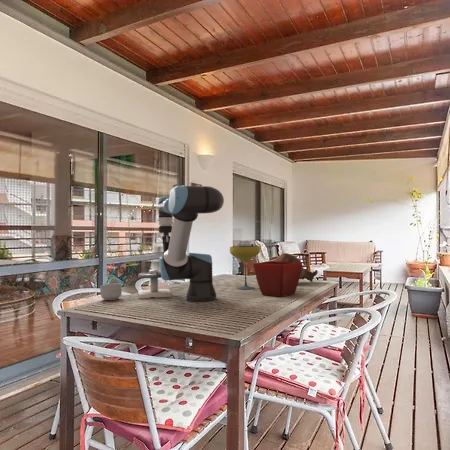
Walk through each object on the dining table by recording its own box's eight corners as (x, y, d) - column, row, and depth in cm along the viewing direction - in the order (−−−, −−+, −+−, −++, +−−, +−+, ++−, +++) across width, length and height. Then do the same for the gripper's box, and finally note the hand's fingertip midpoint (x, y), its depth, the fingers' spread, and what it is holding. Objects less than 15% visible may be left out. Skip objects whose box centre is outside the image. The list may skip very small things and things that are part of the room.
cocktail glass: (262, 290, 219) (260, 246, 220) (230, 290, 219) (229, 247, 220) (259, 286, 237) (258, 245, 238) (230, 286, 237) (229, 246, 238)
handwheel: (138, 278, 200) (138, 264, 201) (138, 275, 217) (137, 262, 217) (171, 277, 204) (170, 263, 205) (168, 274, 221) (167, 261, 221)
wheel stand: (171, 296, 204) (171, 277, 204) (138, 298, 200) (138, 279, 200) (168, 292, 221) (168, 274, 221) (138, 293, 217) (138, 276, 217)
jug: (268, 285, 237) (316, 293, 237) (273, 255, 234) (322, 262, 233) (266, 275, 257) (311, 282, 257) (271, 247, 254) (316, 254, 253)
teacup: (115, 301, 192) (115, 285, 193) (95, 301, 195) (95, 285, 195) (128, 297, 206) (127, 282, 206) (109, 297, 208) (109, 282, 208)
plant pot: (304, 293, 201) (303, 261, 202) (283, 298, 187) (282, 264, 188) (274, 291, 214) (273, 261, 215) (253, 295, 200) (252, 263, 201)
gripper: (157, 226, 213) (158, 268, 212) (159, 225, 200) (160, 270, 200) (171, 225, 215) (172, 267, 214) (174, 225, 202) (175, 269, 201)
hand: (166, 269), depth 207 cm, fingers closed
